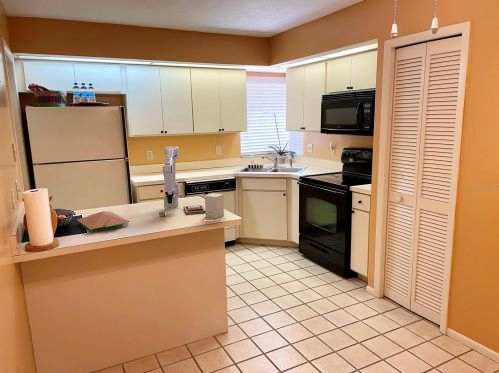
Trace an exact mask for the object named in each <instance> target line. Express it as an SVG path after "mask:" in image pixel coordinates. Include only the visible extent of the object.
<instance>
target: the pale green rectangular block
mask: <svg viewBox="0 0 499 373" xmlns="http://www.w3.org/2000/svg"><path fill="white" fill-rule="evenodd" d="M163 207H164V208H170V207H175V208H178V207H177V205H176V195H173V198H172V204H168V200H167V197H166V195H163Z"/></svg>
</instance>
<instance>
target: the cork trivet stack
mask: <svg viewBox="0 0 499 373" xmlns="http://www.w3.org/2000/svg"><path fill="white" fill-rule="evenodd" d="M190 206H191V207H187V209H196V208H201V207H200V206H198V205H190Z"/></svg>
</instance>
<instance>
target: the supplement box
mask: <svg viewBox="0 0 499 373" xmlns="http://www.w3.org/2000/svg"><path fill="white" fill-rule="evenodd" d="M224 198H225V197H224V194H222V193H214V192H212V193H209V194H206V195H204V209H205V213H204V214H205V217H206V218H211V219H214V220H217V219H218V218H221V217H223V216H225V209H224V208H225V207H224V206H225V204H224V202H225V201H224V200H225V199H224Z"/></svg>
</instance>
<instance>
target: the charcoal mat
mask: <svg viewBox="0 0 499 373" xmlns="http://www.w3.org/2000/svg"><path fill="white" fill-rule="evenodd" d="M158 213H159V217H160V218H164V217H166V212H165V211H162V212H161V211H160V212H158Z"/></svg>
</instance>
